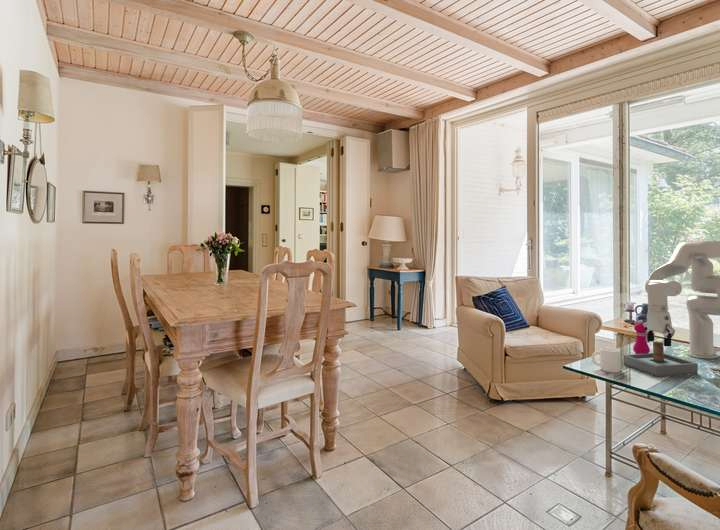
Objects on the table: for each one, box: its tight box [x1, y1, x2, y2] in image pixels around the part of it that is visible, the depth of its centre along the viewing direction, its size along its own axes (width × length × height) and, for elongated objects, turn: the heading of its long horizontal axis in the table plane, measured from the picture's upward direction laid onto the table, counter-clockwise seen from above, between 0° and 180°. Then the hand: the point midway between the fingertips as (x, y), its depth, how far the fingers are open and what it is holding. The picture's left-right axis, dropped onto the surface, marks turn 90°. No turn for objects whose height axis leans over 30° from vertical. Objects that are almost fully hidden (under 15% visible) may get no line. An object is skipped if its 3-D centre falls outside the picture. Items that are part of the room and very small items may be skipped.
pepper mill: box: [632, 319, 651, 354], centre depth 209 cm, size 7×7×20 cm
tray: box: [623, 352, 699, 378], centre depth 190 cm, size 20×20×5 cm
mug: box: [591, 346, 622, 374], centre depth 193 cm, size 12×8×10 cm
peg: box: [652, 341, 665, 363], centre depth 190 cm, size 4×4×12 cm
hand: (659, 343), depth 190 cm, fingers open, 9 cm apart
